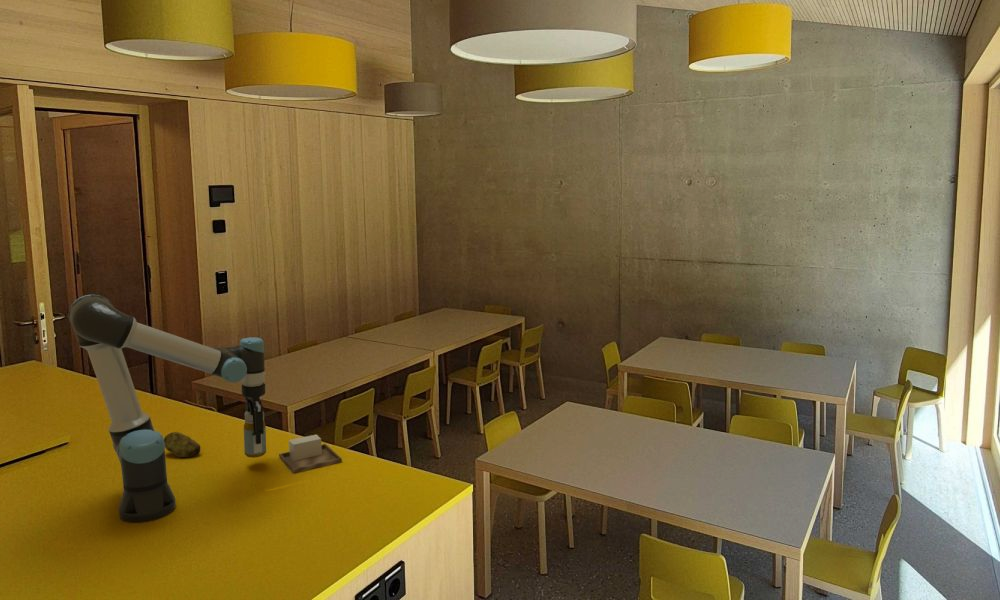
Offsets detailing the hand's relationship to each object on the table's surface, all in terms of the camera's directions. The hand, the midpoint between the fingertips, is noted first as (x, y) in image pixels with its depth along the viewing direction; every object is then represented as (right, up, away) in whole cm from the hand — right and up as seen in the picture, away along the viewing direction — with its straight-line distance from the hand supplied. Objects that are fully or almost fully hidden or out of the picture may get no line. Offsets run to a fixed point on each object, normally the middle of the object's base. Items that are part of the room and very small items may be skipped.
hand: (255, 448), depth 236 cm
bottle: (0, -2, 0) cm, 2 cm away
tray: (+17, -6, +6) cm, 19 cm away
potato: (-30, -5, +12) cm, 33 cm away
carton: (+14, -5, +10) cm, 18 cm away
